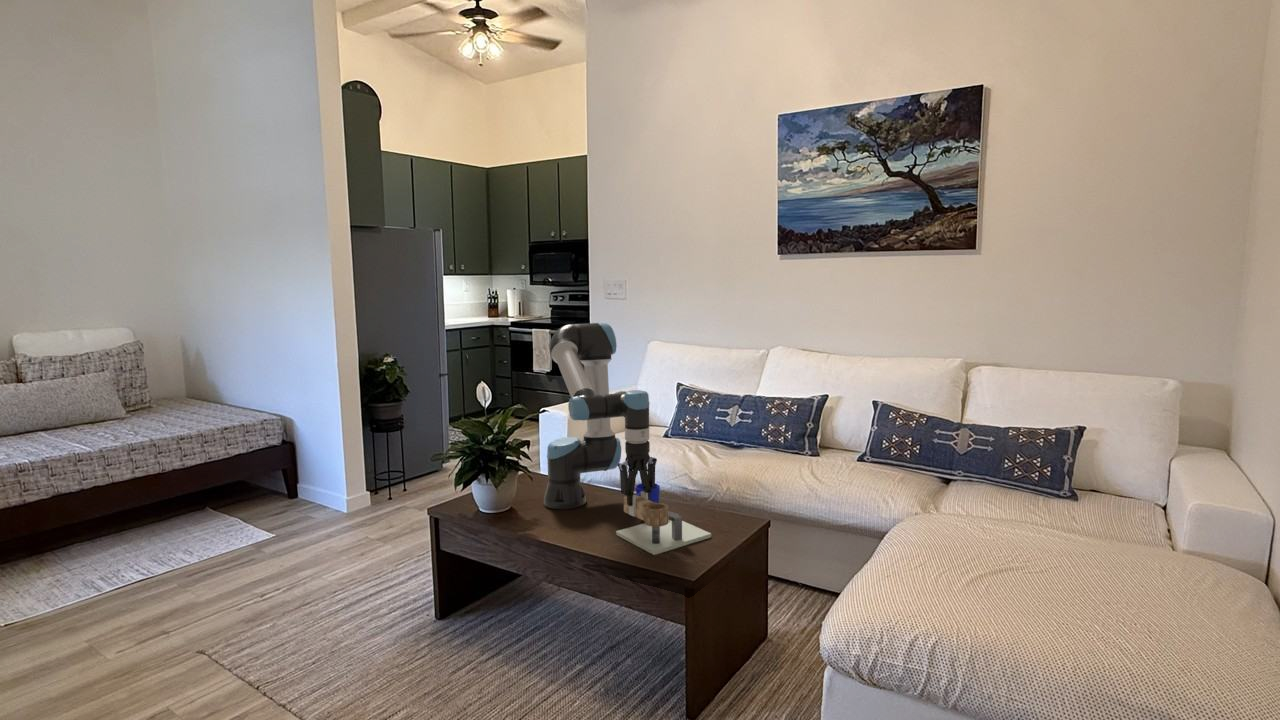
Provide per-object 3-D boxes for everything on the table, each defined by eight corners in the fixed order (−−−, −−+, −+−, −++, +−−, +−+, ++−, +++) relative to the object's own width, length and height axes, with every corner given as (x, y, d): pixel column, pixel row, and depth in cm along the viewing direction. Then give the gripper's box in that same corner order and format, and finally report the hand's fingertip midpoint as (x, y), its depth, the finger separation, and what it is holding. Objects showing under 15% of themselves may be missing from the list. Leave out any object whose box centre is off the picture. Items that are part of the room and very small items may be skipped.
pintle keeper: (644, 542, 214) (644, 514, 213) (670, 535, 220) (670, 507, 219) (659, 550, 208) (659, 521, 207) (685, 542, 214) (685, 514, 213)
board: (616, 534, 221) (616, 531, 221) (671, 519, 234) (671, 515, 234) (654, 555, 205) (654, 551, 205) (711, 537, 218) (711, 533, 218)
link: (620, 512, 220) (619, 497, 219) (637, 508, 224) (637, 493, 223) (654, 528, 205) (654, 511, 205) (672, 523, 209) (672, 507, 209)
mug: (626, 519, 234) (626, 491, 233) (643, 508, 245) (642, 481, 243) (648, 523, 230) (647, 494, 229) (663, 512, 241) (663, 484, 240)
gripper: (621, 447, 207) (622, 523, 210) (666, 438, 217) (667, 511, 219) (607, 442, 213) (609, 516, 216) (652, 434, 223) (653, 504, 226)
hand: (638, 513), depth 218 cm, fingers closed on link, 4 cm apart
